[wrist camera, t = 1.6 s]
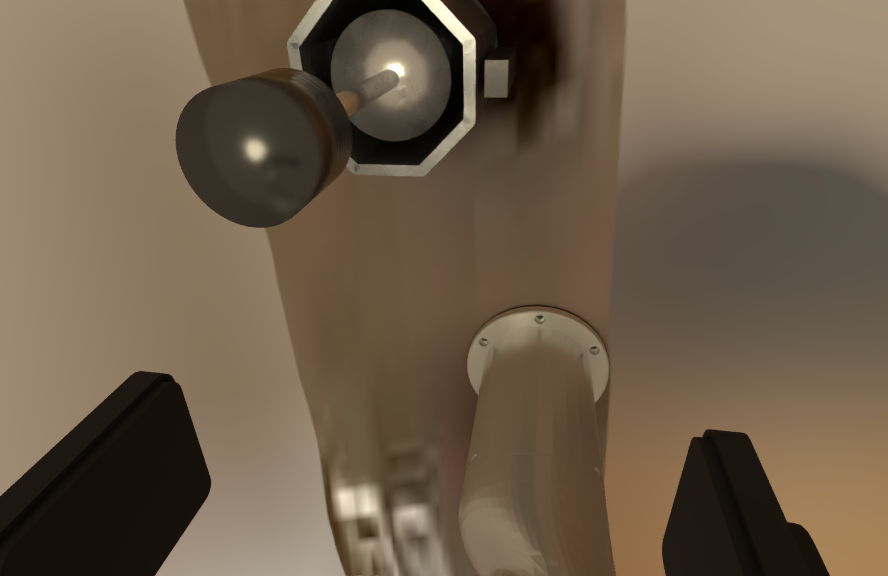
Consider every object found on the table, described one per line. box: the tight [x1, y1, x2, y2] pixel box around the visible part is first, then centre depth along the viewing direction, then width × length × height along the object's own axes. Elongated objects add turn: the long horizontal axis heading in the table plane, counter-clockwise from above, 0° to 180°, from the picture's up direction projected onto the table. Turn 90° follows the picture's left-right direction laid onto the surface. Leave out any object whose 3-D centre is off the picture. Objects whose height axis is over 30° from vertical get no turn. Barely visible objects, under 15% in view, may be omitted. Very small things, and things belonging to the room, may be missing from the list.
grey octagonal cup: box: [287, 0, 517, 176], centre depth 32 cm, size 10×11×12 cm
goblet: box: [176, 9, 452, 228], centre depth 22 cm, size 7×7×16 cm
